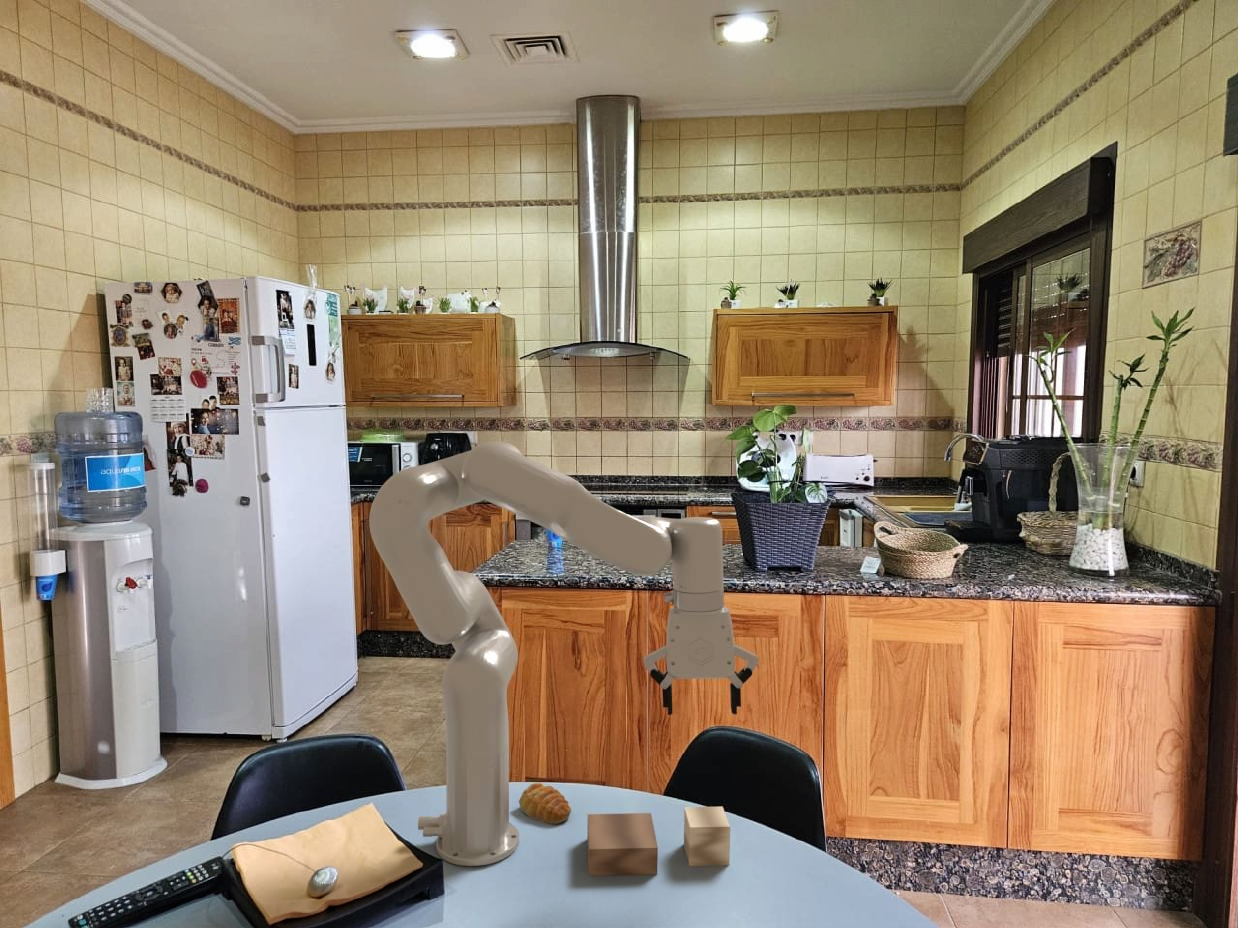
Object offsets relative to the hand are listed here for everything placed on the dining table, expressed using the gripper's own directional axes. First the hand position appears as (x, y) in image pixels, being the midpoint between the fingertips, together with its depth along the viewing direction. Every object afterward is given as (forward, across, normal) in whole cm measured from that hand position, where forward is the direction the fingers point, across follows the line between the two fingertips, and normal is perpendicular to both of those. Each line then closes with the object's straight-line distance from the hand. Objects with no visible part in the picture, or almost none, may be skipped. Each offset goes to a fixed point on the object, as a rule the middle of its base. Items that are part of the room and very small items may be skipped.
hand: (701, 711), depth 120 cm
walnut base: (+22, -13, -2) cm, 25 cm away
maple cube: (+22, 0, 0) cm, 22 cm away
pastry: (+21, -26, +11) cm, 36 cm away
